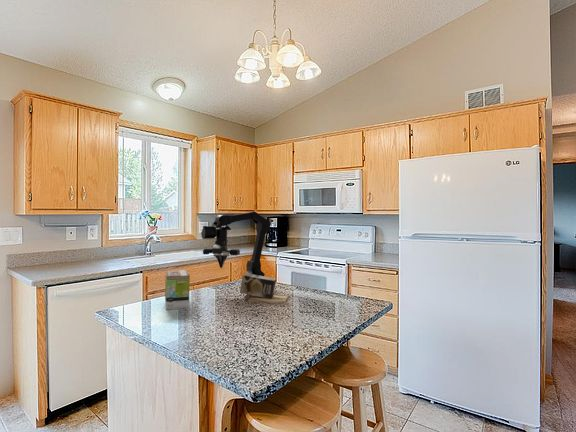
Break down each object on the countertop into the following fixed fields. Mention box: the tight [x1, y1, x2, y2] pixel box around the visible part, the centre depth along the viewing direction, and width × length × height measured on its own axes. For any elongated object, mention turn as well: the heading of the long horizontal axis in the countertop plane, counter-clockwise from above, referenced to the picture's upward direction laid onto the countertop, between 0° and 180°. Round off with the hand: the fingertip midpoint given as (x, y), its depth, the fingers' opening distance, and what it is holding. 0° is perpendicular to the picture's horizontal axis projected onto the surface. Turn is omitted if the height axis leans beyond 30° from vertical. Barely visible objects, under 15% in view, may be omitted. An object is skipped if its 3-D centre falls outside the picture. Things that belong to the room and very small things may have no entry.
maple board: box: [247, 294, 289, 304], centre depth 163 cm, size 13×18×1 cm
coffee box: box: [239, 272, 277, 299], centre depth 164 cm, size 9×6×16 cm
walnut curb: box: [244, 294, 252, 302], centre depth 165 cm, size 14×1×2 cm, turn 172°
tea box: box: [164, 269, 191, 310], centre depth 151 cm, size 15×10×15 cm
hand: (221, 267), depth 175 cm, fingers closed
